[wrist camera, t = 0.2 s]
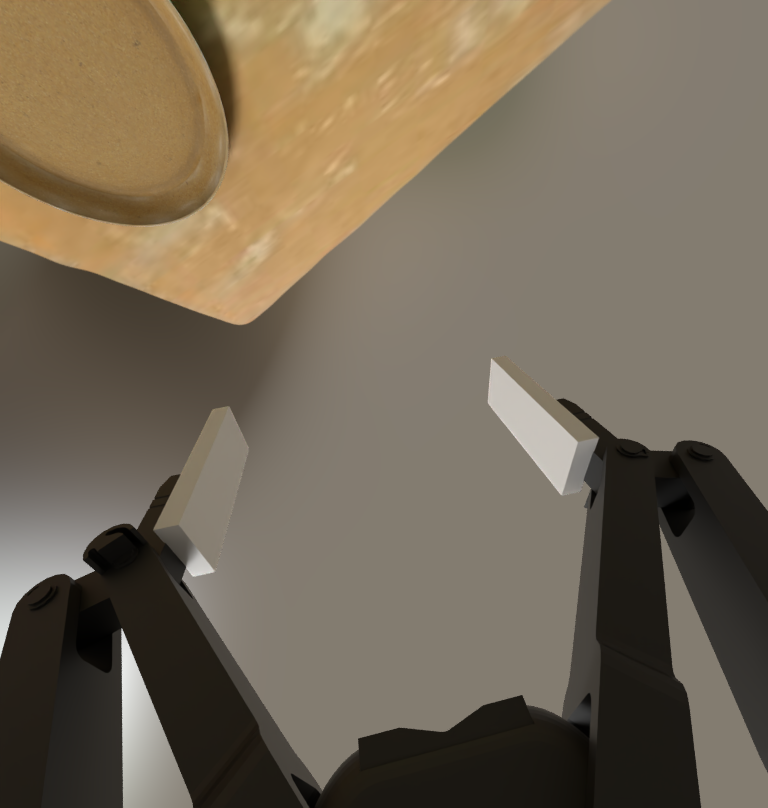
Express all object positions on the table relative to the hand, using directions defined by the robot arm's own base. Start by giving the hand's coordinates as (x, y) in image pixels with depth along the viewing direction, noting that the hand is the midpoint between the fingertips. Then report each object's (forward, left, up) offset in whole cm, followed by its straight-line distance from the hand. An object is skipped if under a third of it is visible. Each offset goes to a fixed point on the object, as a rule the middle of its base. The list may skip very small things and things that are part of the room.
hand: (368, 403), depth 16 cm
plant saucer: (-8, -17, -36) cm, 41 cm away
